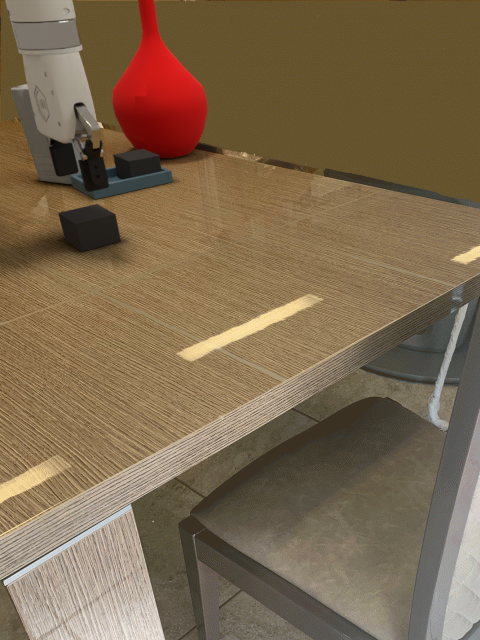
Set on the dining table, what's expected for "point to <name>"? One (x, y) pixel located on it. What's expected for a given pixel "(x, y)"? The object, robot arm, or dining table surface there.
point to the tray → (123, 182)
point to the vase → (159, 96)
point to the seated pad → (136, 163)
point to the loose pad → (89, 227)
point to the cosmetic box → (38, 139)
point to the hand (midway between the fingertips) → (82, 181)
